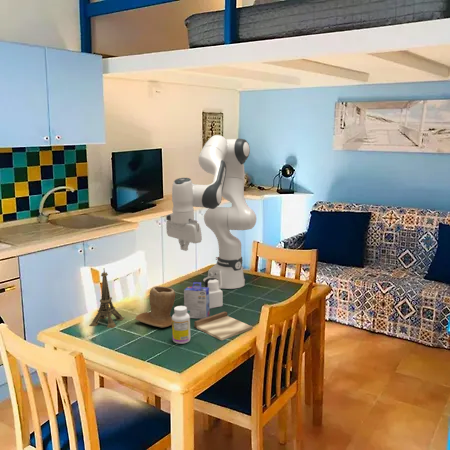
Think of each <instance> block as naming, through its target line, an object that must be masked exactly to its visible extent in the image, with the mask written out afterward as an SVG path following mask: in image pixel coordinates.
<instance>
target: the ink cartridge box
mask: <svg viewBox="0 0 450 450" xmlns="http://www.w3.org/2000/svg"><path fill="white" fill-rule="evenodd" d="M183 306H185V307H187V312H186V313H188V314H189V316H190V319H197V320H200V319H203V318H206V317H209V316H211V315H210V311H211V310H210V309H211V308H210V309H209V287H205V286H202V282H201V281H193V283H192V286H186V288H185V289H184V290H183Z"/></svg>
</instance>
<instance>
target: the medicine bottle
mask: <svg viewBox="0 0 450 450" xmlns="http://www.w3.org/2000/svg"><path fill="white" fill-rule="evenodd" d="M204 287H209V309H215V308H219V307H223V303H224V302H223V297H224V296H223V290H221V289H218V288H219V280H218V279H216V278H208V279H206V280H205V282H204Z"/></svg>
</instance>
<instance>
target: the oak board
mask: <svg viewBox="0 0 450 450" xmlns="http://www.w3.org/2000/svg"><path fill="white" fill-rule="evenodd" d="M193 328H194V329H197V330H198V331H201V332H203V333H204V334H207V335H209V336H211V337H214V338H215V339H217V340H220V341H224V340H226V339H229V338H232V337H235V336H237V335H240V334H243V333H245V332H248V331H251V330H253V325H250V324H247V323H246V322H242V321H240V320H238V319H235V318H233V317H231V316H229V315H228V312H227V311H222V312H219V313H216V314H213V315H209V316H208V317H206V318H203V319H197V320H195V321H194V326H193Z"/></svg>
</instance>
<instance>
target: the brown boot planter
mask: <svg viewBox="0 0 450 450" xmlns="http://www.w3.org/2000/svg"><path fill="white" fill-rule="evenodd" d="M148 296H149V299H148V300H149V307H150V311H146V312H141V313H139V314H137V315H136V316H135V318H134V319H135V321H138V322H140V323H143V324H146V325H149V326H152V327H158V328H161V329H163V328H167V327H170V326H171V327H172V316H171V312H172V309H173V306H174V304H175V299H176V292H175V290H174V289H173V288H171V287H169V286H159V285H158V286H157V285H156V286H153V287H151V288H150V290H149V295H148Z"/></svg>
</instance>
